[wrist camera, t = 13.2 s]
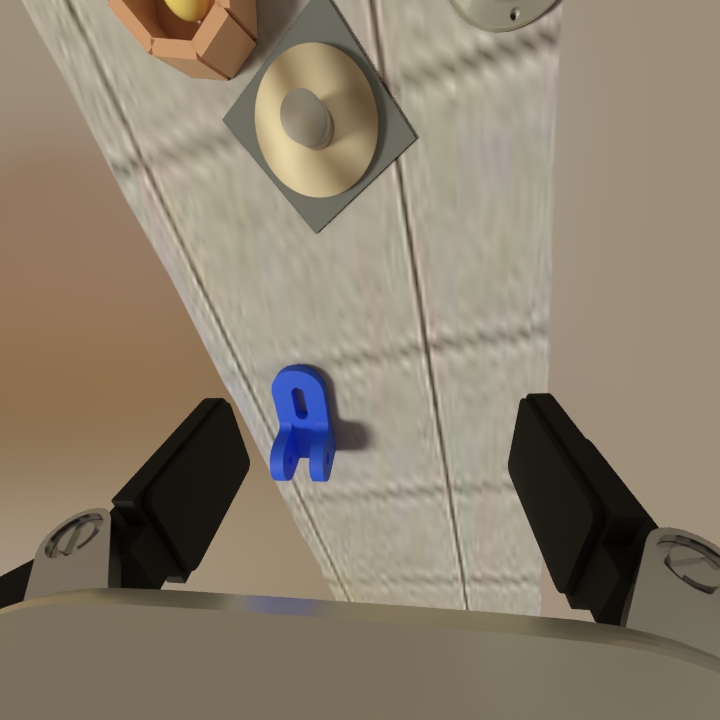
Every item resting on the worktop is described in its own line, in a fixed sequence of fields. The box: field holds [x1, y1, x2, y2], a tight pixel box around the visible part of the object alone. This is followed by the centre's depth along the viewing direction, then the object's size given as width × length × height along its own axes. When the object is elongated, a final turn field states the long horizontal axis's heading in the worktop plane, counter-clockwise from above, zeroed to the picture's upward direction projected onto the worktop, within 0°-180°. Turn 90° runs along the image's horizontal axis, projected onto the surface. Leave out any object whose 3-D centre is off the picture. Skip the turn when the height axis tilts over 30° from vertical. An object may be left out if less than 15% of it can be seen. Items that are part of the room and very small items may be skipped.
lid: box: [255, 42, 378, 198], centre depth 31 cm, size 13×13×7 cm
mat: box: [223, 0, 416, 234], centre depth 34 cm, size 15×15×1 cm
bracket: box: [270, 365, 336, 482], centre depth 49 cm, size 18×8×9 cm, turn 5°
